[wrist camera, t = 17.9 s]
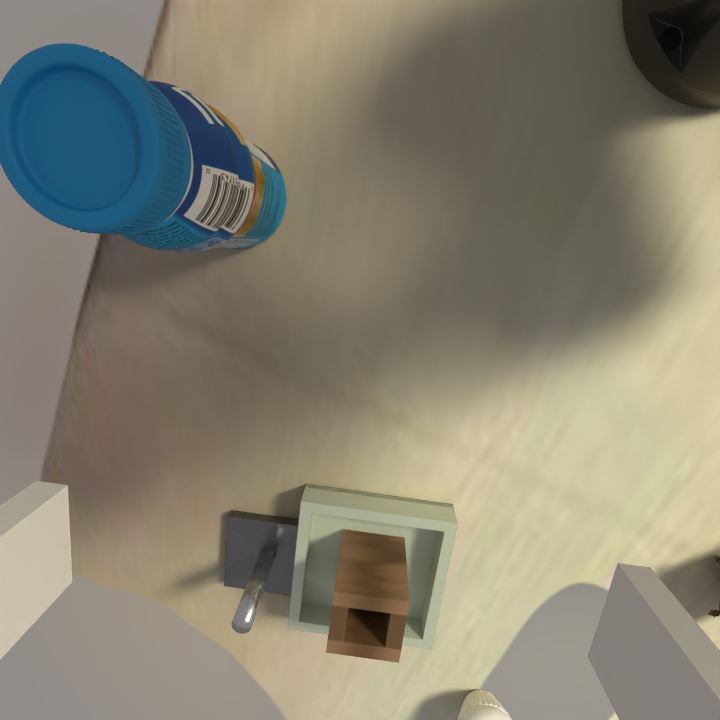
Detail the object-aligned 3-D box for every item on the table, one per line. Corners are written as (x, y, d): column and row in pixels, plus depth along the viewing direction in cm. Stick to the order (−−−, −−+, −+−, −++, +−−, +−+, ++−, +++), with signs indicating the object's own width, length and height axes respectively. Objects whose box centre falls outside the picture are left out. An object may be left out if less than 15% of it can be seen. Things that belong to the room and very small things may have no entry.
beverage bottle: (217, 266, 38) (42, 287, 18) (169, 168, 36) (-82, 76, 16) (307, 225, 36) (222, 201, 17) (262, 121, 35) (109, -37, 15)
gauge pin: (312, 521, 43) (295, 591, 35) (304, 589, 45) (286, 671, 37) (231, 510, 43) (194, 576, 35) (227, 578, 45) (190, 657, 37)
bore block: (404, 537, 43) (409, 602, 35) (395, 589, 44) (398, 662, 36) (342, 529, 43) (333, 591, 35) (335, 581, 44) (326, 652, 36)
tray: (452, 504, 42) (457, 523, 39) (428, 623, 46) (431, 649, 43) (306, 483, 42) (300, 501, 39) (293, 604, 46) (287, 628, 43)
